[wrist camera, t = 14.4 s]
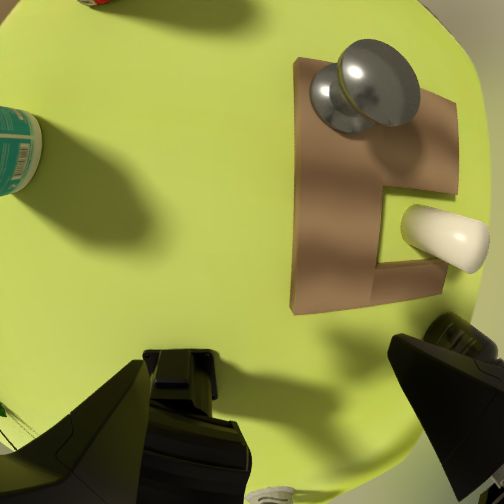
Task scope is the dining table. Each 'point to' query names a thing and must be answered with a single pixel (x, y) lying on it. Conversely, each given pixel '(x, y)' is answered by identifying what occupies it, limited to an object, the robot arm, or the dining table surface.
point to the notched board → (362, 201)
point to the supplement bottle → (462, 339)
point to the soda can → (93, 2)
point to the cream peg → (447, 236)
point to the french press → (271, 496)
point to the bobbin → (365, 89)
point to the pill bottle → (18, 149)
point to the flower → (1, 412)
